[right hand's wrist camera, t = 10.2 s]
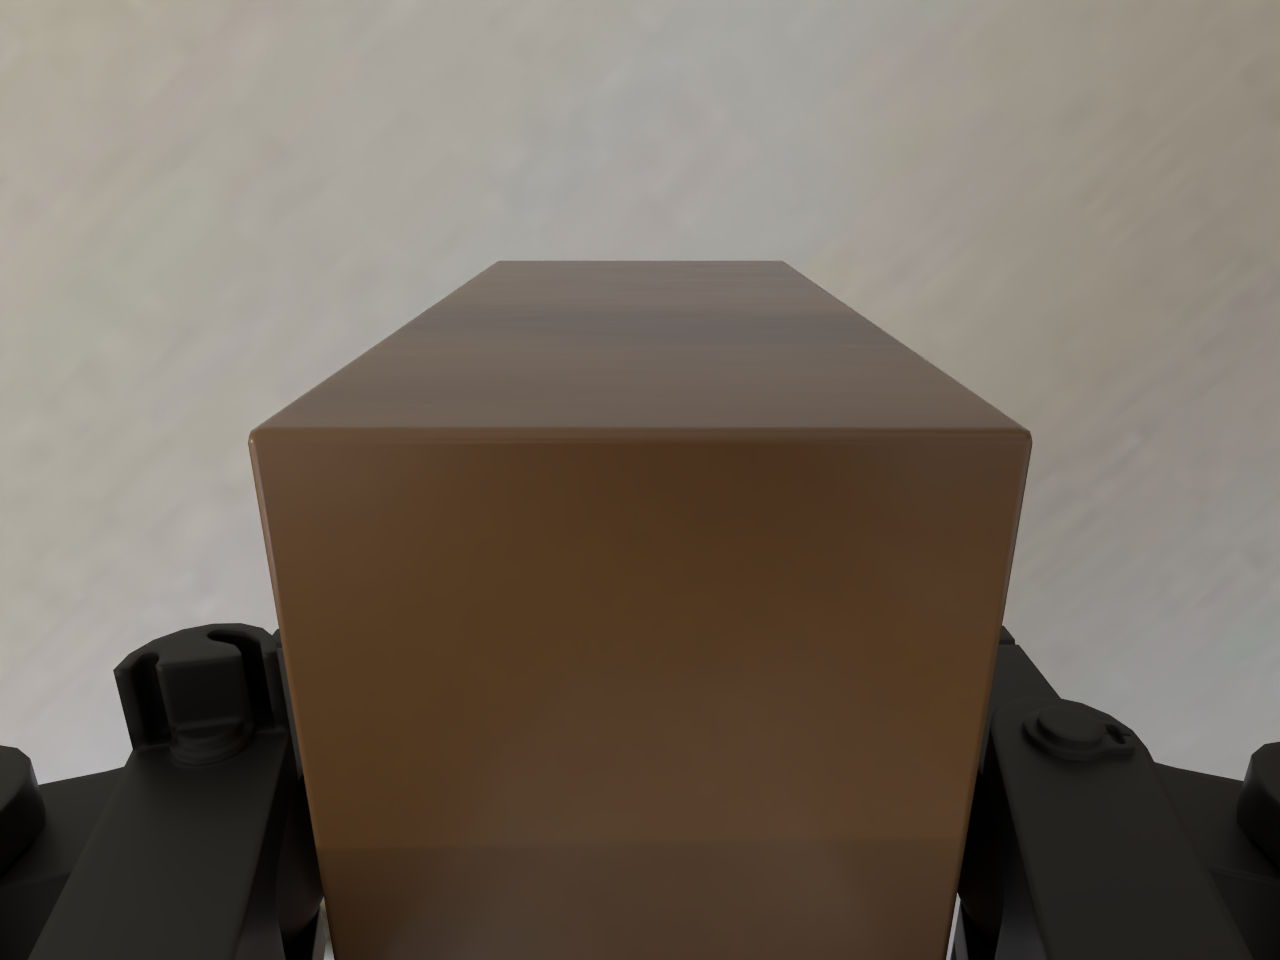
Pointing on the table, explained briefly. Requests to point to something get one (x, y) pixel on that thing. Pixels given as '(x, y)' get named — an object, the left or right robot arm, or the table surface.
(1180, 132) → the table surface
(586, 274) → the bar
